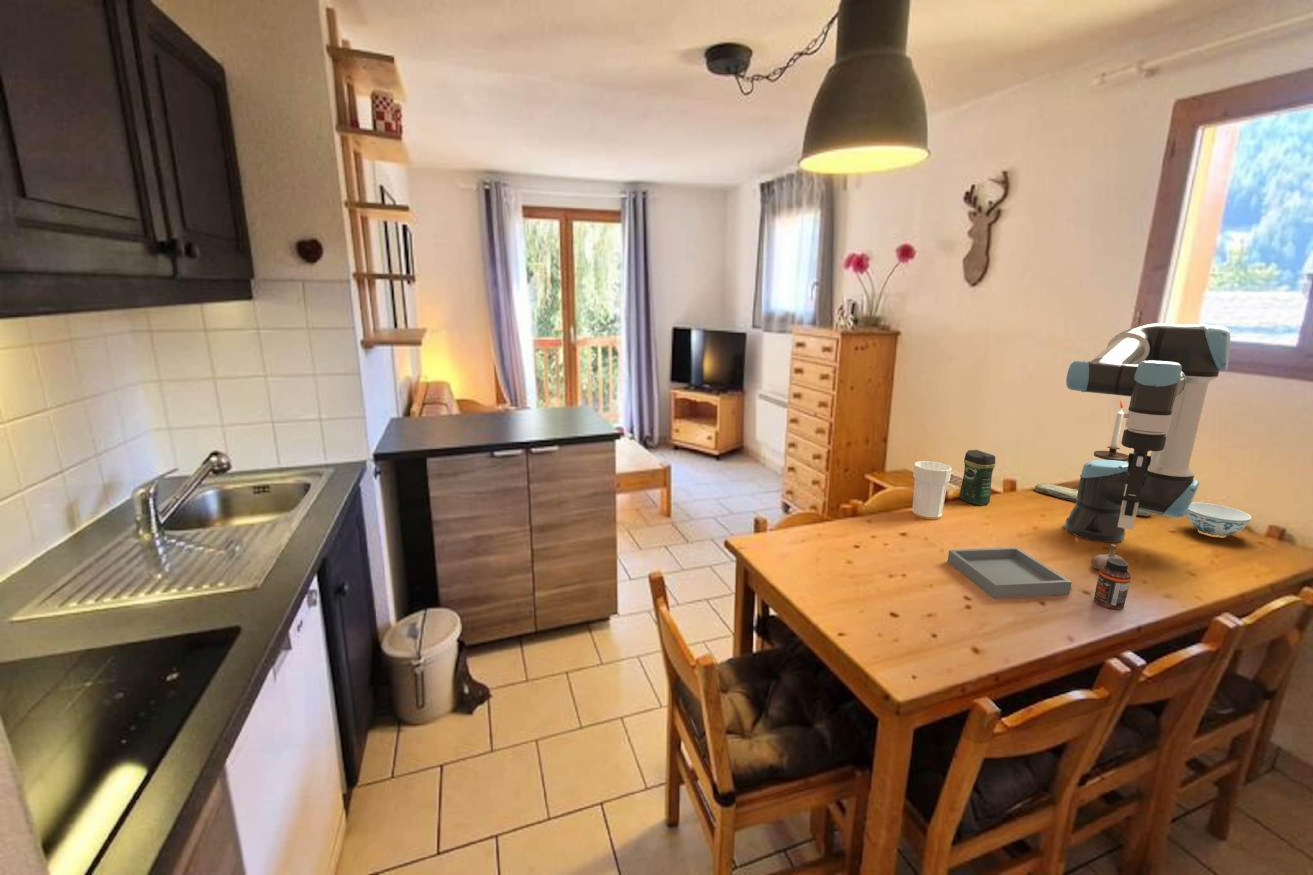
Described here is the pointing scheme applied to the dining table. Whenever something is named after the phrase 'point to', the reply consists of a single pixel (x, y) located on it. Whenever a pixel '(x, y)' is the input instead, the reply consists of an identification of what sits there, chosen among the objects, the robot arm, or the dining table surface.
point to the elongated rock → (1067, 494)
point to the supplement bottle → (1113, 584)
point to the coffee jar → (977, 477)
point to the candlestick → (1114, 442)
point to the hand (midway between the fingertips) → (1126, 519)
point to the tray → (1008, 572)
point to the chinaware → (1216, 518)
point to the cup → (930, 489)
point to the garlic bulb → (1104, 558)
